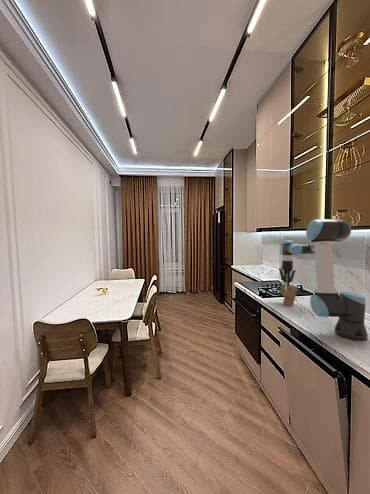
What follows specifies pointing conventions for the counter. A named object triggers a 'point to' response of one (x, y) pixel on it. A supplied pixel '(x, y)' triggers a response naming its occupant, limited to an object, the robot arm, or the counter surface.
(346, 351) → the counter surface
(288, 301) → the walnut block
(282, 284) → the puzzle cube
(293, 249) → the robot arm
